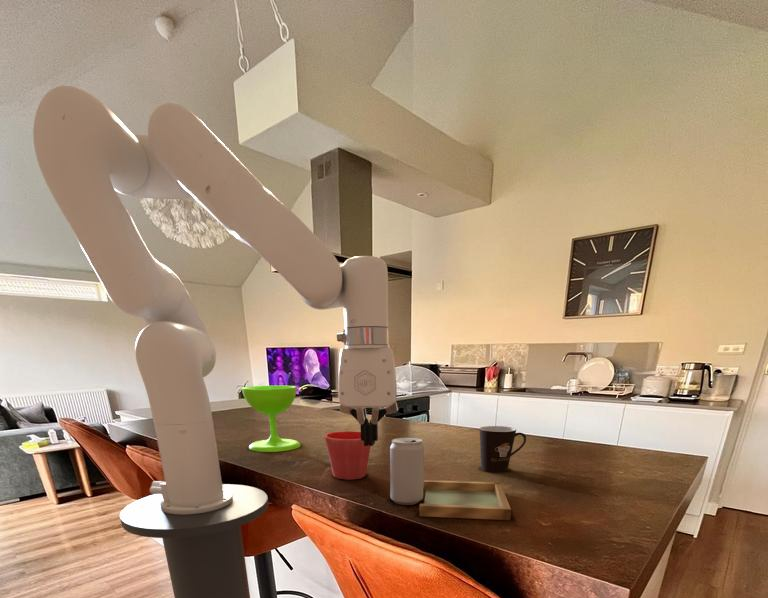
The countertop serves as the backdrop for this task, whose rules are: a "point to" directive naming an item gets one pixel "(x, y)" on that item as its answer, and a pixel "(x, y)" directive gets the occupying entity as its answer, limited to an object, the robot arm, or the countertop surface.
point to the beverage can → (406, 470)
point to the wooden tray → (465, 500)
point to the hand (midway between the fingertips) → (369, 444)
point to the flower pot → (347, 454)
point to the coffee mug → (497, 447)
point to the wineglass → (271, 414)
